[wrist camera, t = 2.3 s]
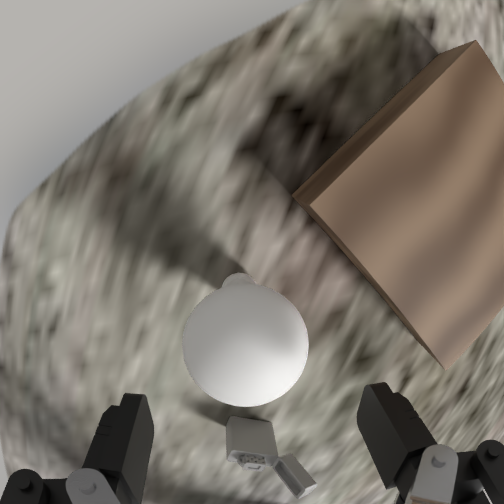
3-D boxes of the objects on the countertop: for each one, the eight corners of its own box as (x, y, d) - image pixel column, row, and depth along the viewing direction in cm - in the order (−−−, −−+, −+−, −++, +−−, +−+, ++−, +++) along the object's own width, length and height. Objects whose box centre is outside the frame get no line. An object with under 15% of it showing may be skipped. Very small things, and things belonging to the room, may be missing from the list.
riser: (524, 210, 23) (558, 220, 18) (417, 341, 26) (445, 370, 21) (439, 54, 19) (476, 39, 14) (291, 195, 21) (309, 205, 16)
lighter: (225, 427, 27) (227, 494, 19) (230, 415, 26) (233, 484, 19) (294, 437, 28) (310, 499, 20) (301, 426, 27) (319, 489, 20)
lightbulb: (276, 324, 24) (307, 430, 13) (195, 320, 23) (177, 428, 13) (286, 247, 22) (336, 321, 12) (198, 240, 22) (172, 314, 11)
